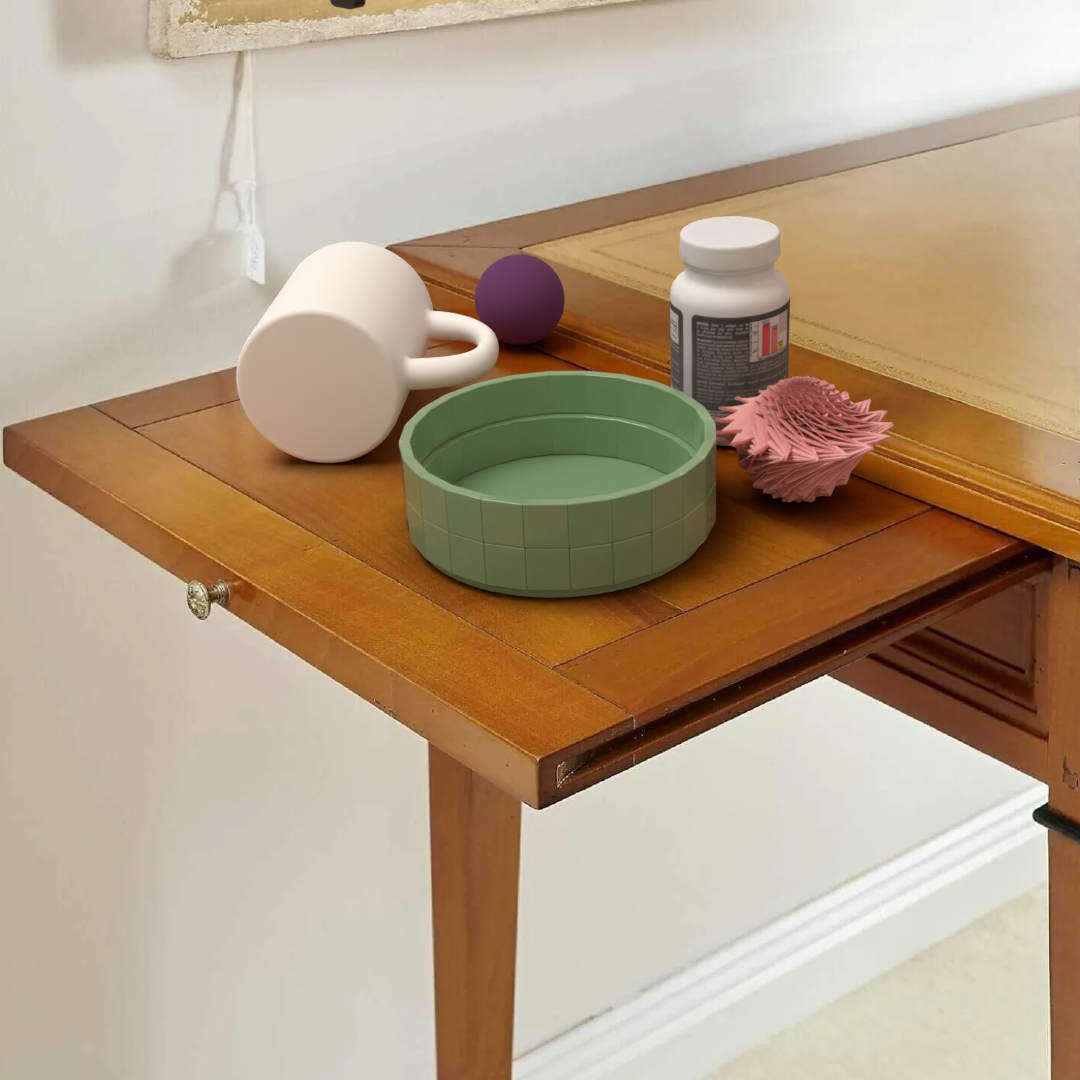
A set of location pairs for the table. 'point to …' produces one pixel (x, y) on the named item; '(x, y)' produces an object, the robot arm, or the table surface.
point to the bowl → (559, 482)
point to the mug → (350, 353)
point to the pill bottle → (728, 313)
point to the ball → (520, 299)
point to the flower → (801, 437)
